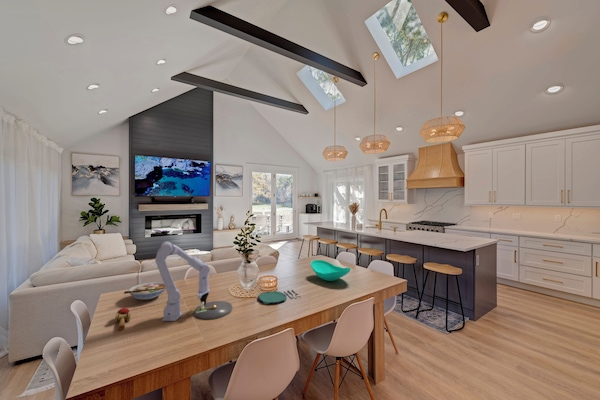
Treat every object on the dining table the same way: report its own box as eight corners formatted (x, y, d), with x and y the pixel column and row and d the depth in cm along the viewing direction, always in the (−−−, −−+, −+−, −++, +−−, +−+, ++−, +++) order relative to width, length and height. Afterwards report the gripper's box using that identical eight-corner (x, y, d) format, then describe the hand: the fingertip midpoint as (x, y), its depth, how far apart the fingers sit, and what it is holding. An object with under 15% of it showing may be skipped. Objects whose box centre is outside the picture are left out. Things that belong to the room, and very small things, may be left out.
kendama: (132, 330, 131) (132, 312, 146) (129, 320, 130) (130, 303, 144) (114, 337, 127) (116, 317, 142) (111, 326, 126) (114, 308, 140)
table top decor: (302, 277, 221) (303, 262, 221) (323, 271, 240) (323, 258, 240) (337, 290, 192) (337, 273, 192) (357, 282, 211) (358, 267, 211)
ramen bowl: (170, 290, 185) (170, 279, 185) (167, 302, 164) (167, 289, 164) (131, 294, 175) (131, 282, 175) (122, 307, 154) (122, 294, 154)
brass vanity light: (216, 306, 155) (216, 298, 155) (216, 308, 152) (216, 300, 152) (197, 309, 150) (197, 301, 150) (197, 311, 147) (197, 303, 147)
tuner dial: (226, 319, 142) (226, 316, 142) (188, 319, 141) (188, 316, 141) (235, 303, 164) (235, 301, 164) (202, 303, 163) (202, 300, 163)
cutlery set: (254, 296, 177) (254, 293, 177) (292, 290, 191) (292, 287, 191) (263, 307, 159) (263, 304, 159) (303, 300, 173) (304, 297, 173)
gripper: (205, 287, 145) (205, 310, 145) (214, 279, 159) (213, 300, 159) (193, 287, 145) (193, 310, 145) (203, 279, 159) (202, 300, 159)
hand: (203, 305), depth 152 cm, fingers closed
